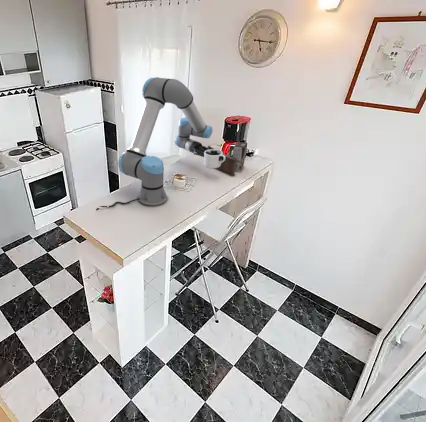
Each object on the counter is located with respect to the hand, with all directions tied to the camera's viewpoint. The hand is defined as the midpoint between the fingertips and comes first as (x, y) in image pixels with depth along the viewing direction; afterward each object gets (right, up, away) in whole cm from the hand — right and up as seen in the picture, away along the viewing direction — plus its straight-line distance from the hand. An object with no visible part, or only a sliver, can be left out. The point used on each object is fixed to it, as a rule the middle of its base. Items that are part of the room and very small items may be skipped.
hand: (221, 158), depth 168 cm
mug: (-3, -3, +6) cm, 8 cm away
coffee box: (+16, -3, +19) cm, 25 cm away
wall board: (+6, -5, +18) cm, 19 cm away
